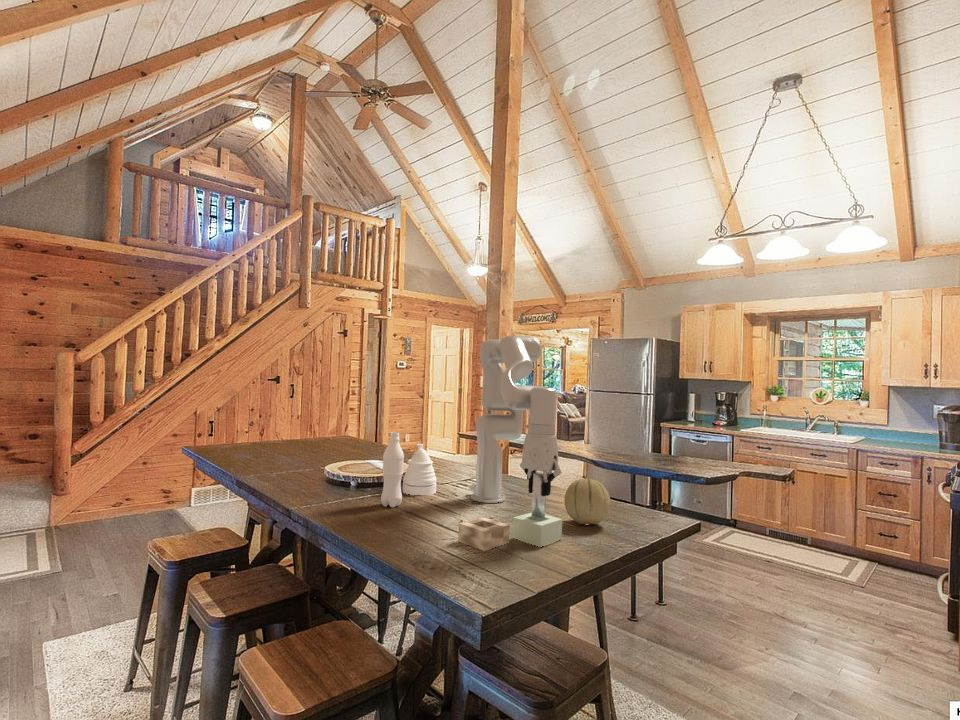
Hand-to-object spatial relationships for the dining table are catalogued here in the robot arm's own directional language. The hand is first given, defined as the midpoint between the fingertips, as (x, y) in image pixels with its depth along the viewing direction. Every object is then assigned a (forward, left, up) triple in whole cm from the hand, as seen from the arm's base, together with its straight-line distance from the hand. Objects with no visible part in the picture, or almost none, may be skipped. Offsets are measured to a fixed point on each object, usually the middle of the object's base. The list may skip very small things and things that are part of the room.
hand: (539, 493), depth 148 cm
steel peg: (0, 0, -6) cm, 6 cm away
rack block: (0, 0, -13) cm, 13 cm away
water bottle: (-54, -11, -13) cm, 57 cm away
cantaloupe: (+1, +25, -13) cm, 28 cm away
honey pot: (-64, +10, -13) cm, 66 cm away
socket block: (-8, -14, -13) cm, 21 cm away
